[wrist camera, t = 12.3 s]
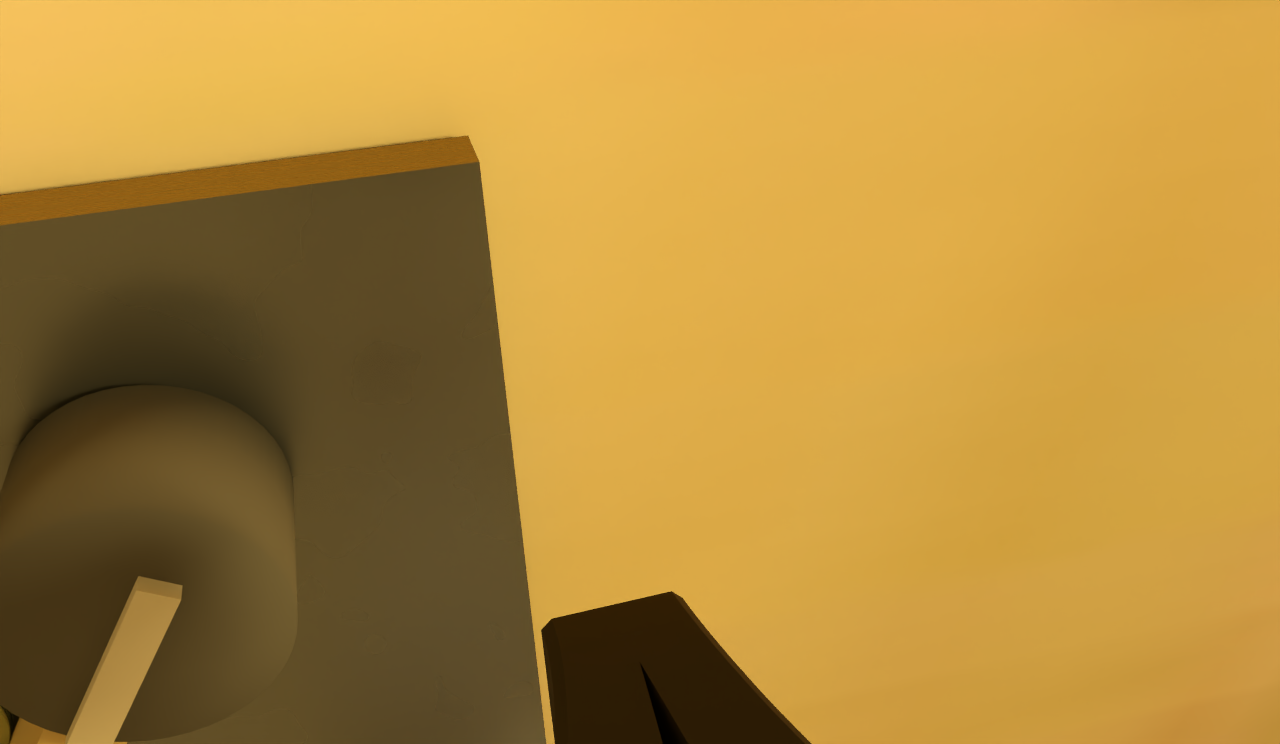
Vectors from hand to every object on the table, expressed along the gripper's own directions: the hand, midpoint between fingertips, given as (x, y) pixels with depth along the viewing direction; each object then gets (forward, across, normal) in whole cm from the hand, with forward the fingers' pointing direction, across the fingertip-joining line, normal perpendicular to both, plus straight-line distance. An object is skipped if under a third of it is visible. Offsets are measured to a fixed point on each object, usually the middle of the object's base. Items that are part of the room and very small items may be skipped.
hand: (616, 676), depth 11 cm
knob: (+9, +7, +5) cm, 12 cm away
